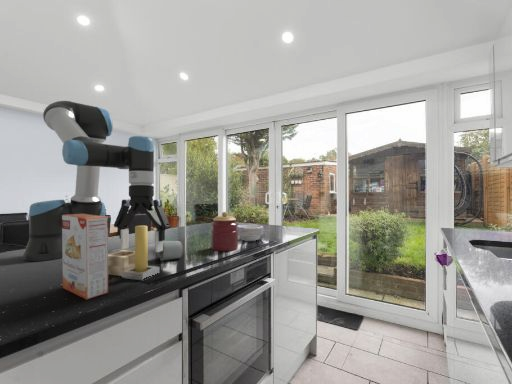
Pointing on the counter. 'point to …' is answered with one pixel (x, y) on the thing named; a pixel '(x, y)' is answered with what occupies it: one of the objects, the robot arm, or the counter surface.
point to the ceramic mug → (171, 250)
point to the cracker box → (85, 254)
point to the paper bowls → (250, 232)
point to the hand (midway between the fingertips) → (141, 250)
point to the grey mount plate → (140, 273)
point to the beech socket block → (120, 261)
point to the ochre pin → (141, 248)
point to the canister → (224, 233)
